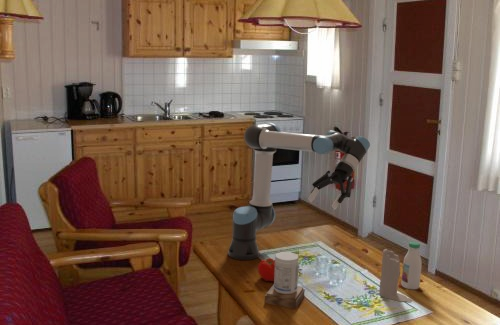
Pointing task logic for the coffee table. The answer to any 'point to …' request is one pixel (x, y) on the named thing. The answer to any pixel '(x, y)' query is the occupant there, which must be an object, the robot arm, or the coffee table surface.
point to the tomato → (267, 269)
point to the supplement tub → (286, 272)
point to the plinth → (285, 298)
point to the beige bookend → (391, 277)
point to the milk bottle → (412, 267)
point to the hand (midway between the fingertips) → (321, 204)
